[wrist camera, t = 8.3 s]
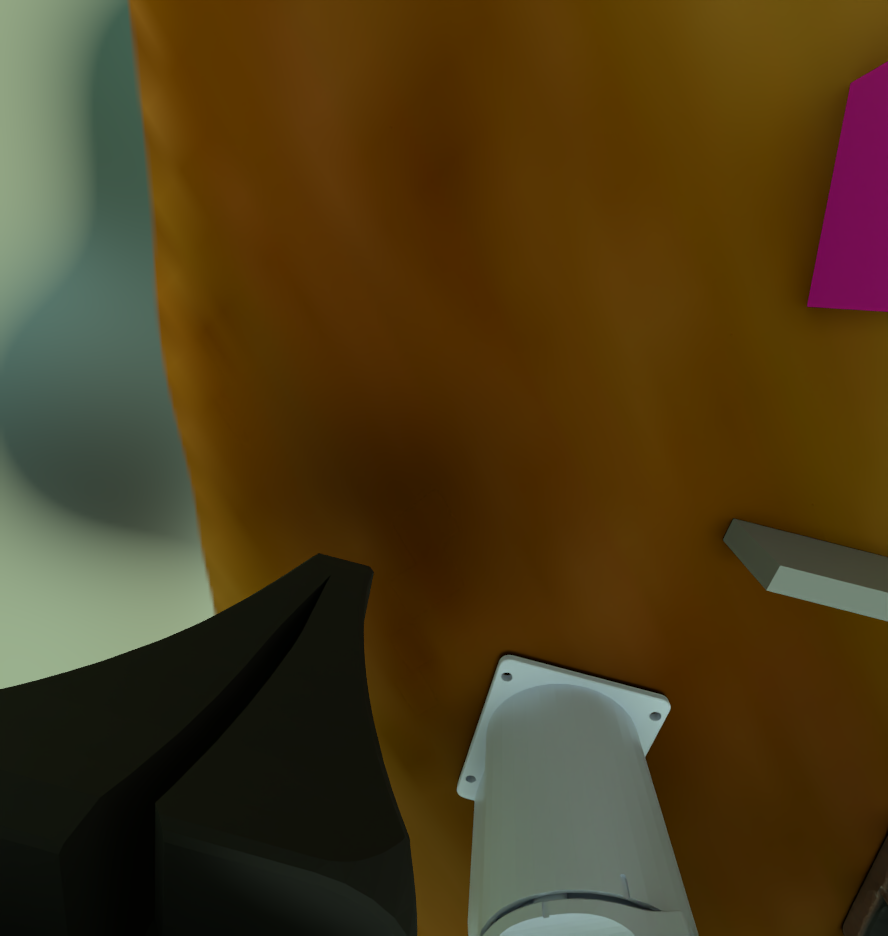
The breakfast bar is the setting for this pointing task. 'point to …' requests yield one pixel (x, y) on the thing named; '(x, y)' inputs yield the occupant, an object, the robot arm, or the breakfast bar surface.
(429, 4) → the breakfast bar surface
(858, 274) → the toy block
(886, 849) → the letter holder
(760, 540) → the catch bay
